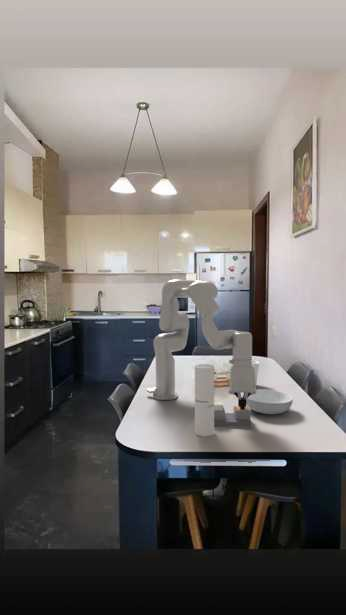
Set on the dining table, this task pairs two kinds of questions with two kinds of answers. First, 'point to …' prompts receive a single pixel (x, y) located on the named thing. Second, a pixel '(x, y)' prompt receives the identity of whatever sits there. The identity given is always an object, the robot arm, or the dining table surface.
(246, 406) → the key terracotta
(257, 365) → the foam cup
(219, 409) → the key ivory
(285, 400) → the serving bowl
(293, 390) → the dining table surface
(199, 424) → the cylindrical container
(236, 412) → the key panel
